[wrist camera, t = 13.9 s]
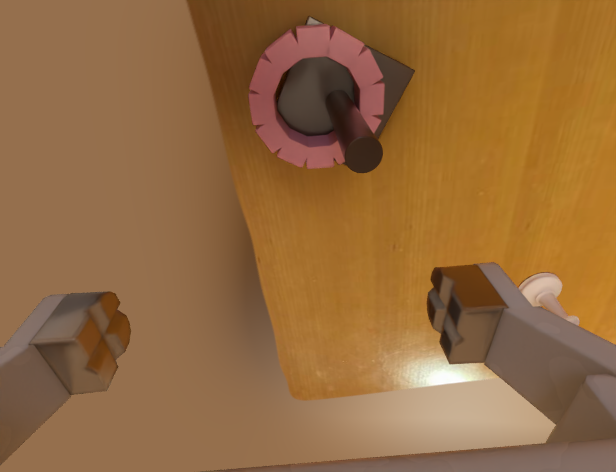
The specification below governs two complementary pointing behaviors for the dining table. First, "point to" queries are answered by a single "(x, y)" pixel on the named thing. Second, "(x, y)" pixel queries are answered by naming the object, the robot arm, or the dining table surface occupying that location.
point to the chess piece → (545, 294)
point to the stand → (339, 104)
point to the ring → (287, 54)
